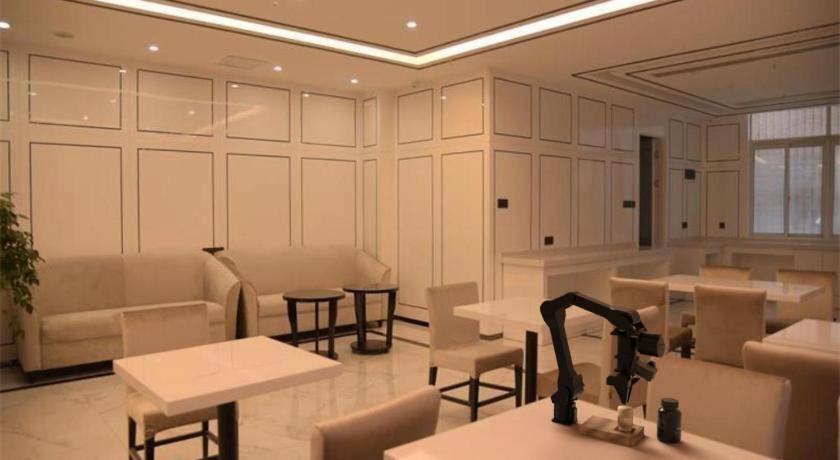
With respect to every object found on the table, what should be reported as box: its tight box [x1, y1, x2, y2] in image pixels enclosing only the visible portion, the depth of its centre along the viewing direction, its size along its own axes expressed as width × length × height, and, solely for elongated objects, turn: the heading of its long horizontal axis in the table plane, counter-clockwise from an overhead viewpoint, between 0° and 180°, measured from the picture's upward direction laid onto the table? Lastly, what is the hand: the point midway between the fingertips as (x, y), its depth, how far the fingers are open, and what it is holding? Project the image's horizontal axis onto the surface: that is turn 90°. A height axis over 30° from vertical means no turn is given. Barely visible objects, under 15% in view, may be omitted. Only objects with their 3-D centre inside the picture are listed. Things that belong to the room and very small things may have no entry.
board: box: [579, 415, 645, 447], centre depth 181 cm, size 16×11×2 cm
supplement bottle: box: [656, 397, 683, 445], centre depth 177 cm, size 7×7×12 cm
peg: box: [616, 405, 634, 434], centre depth 178 cm, size 4×4×9 cm
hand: (625, 403), depth 178 cm, fingers open, 2 cm apart
